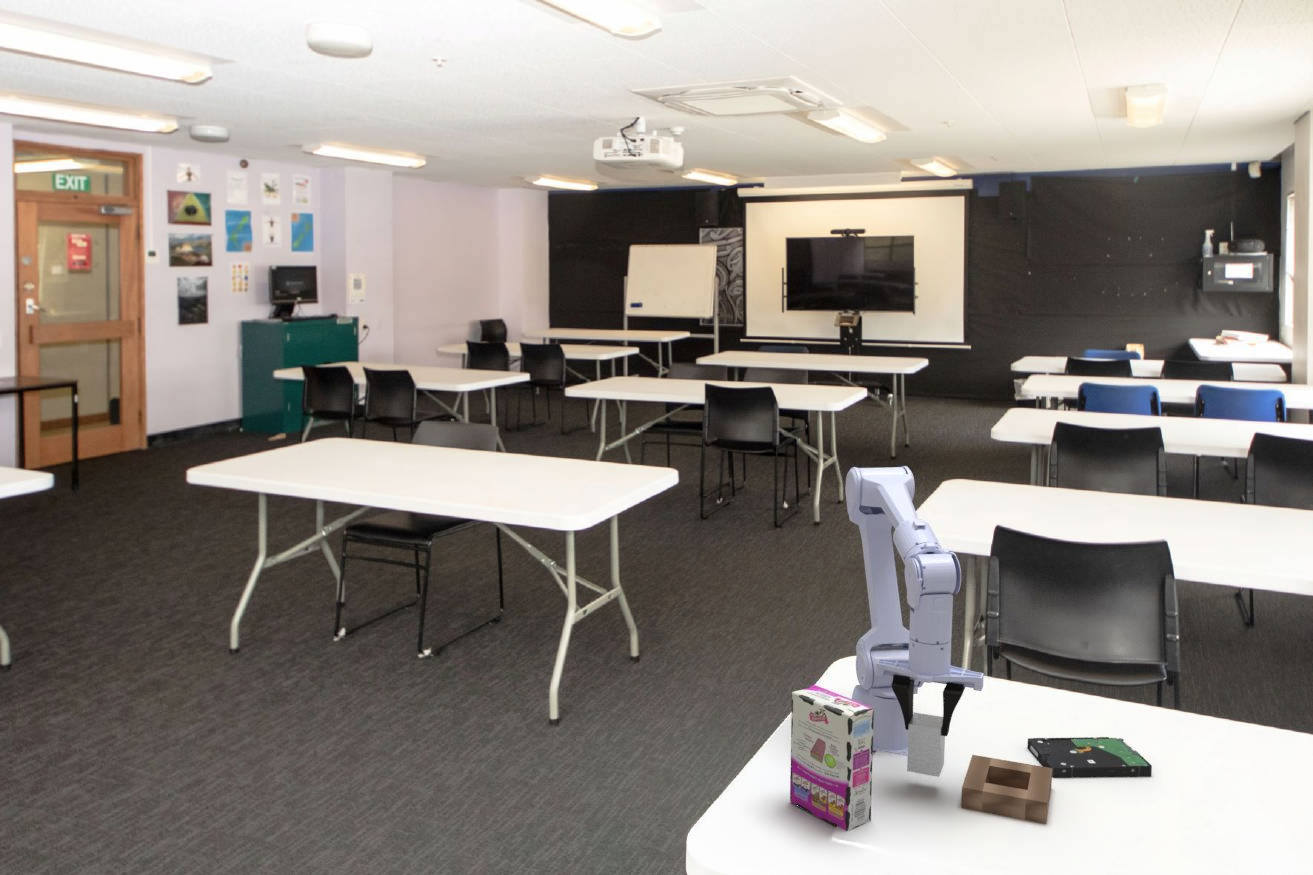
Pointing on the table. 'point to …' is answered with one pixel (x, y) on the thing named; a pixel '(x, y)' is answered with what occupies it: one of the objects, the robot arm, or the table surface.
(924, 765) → the steel block
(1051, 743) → the disk drive
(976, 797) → the pocket block
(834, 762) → the candy bar box
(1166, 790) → the table surface
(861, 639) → the robot arm
